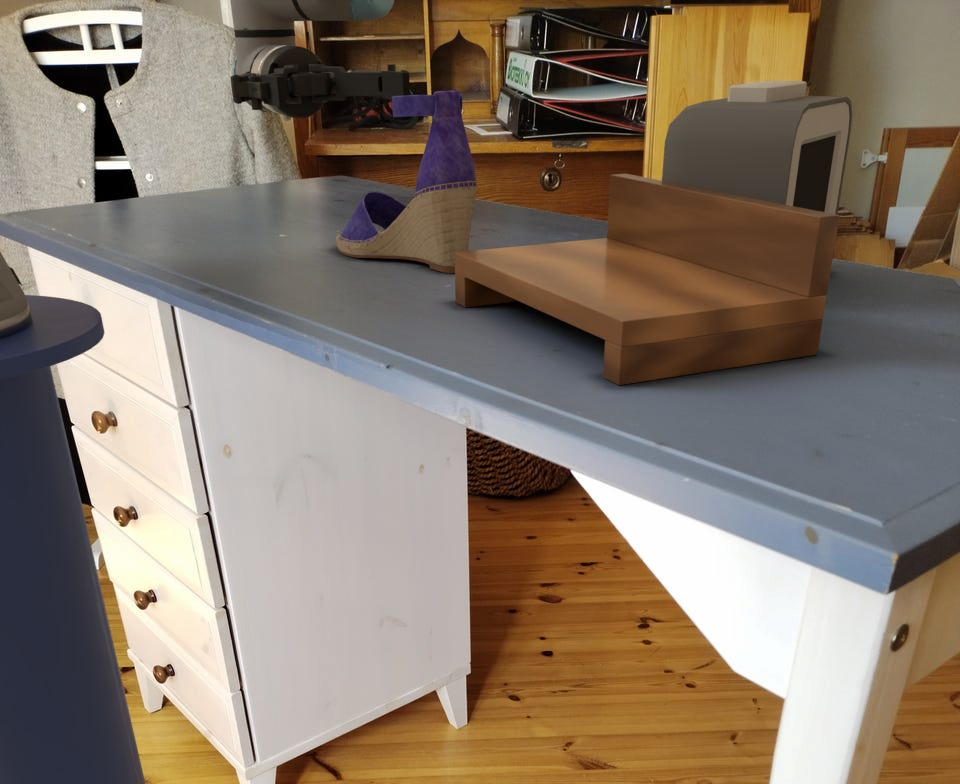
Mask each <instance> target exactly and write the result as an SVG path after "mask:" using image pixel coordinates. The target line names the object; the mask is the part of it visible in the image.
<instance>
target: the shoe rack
mask: <svg viewBox="0 0 960 784" xmlns="http://www.w3.org/2000/svg"><path fill="white" fill-rule="evenodd" d="M608 189H609V191H608V208H607V209H608V210H607V211H608V212H607V229H606V237H602V238H593V239H581V240H569V241H559V242H552V243H551V242H550V243H539V244H529V245H518V246H507V247H506V246H505V247H495V248H486V249H473V250H468V251H463V252H455V273H454V285H455V286H454V293H455V297H454V298H455V303H456V304H458V305H460V306H462V307H464V308H470V307H471V308H472V307H481V306H490V305H496V304H497V305H498V304H505V303H515V302H520V303H522V304H525V305H526V306H528V307H531V308H533V309H535V310H537V311H539V312H542V313H544V314H546V315H549V316H551V317H553V318H555V319H557V320H560V321H562V322H564V323H567V324H569V325H571V326H572V327H575V328H577V329H579V330H582V331H584V332H586V333H589V334H590V335H593V336H596V337H598V338H600V339H602V340H604V353H603V371H602V372H603V373H602V377H603V379H605V380H607V381H609V382H612V383H613V384H615V385H617V386H623V385H628V384H635V383H643V382H649V381H655V380H661V379H667V378H675V377H682V376H687V375H693V374H701V373H707V372H714V371H720V370H724V369H725V370H726V369H733V368H740V367H745V366H752V365H758V364H765V363H771V362H778V361H784V360H791V359H797V358H803V357H810V356H811V357H812V356H816V355H817V356H818V353H819V345H820V341H821V340H820V339H821V335H822V327H823V319H824V315H825V309H826V304H827V303H826V302H827V297H828V292H829V285H830V278H831V272H832V266H833V259H834V254H835V248H836V242H837V235H838V229H839V223H840V217H841V216H840V214H838V215H836V214H831V213H826V212H820V211H815V210H810V209H805V208H800V207H795V206H790V205H784V204H779V203H774V202H769V201H764V200H759V199H754V198H748V197H743V196H738V195H733V194H728V193H723V192H718V191H712V190H707V189H702V188H697V187H692V186H687V185H682V184H676V183H671V182H666V181H662V179H655V178H652V177H651V178H650V177H645V176H640V175H635V174H629V173H616V174H610V175H609V188H608Z"/></svg>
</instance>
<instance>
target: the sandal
mask: <svg viewBox="0 0 960 784" xmlns="http://www.w3.org/2000/svg"><path fill="white" fill-rule="evenodd" d="M463 98H464V93H462V92H458V91H457V90H455V89H451V90H437V91H434V93H433V94H410V95H407V96H394V97H392V100H391V105H392V116H393V117H392V118H403V117H432V120H431V125H430V129H429V132H428V137H427V140H426V143H425V147H424V150H423V154H422V158H421V162H420V165H419V169H418V173H417V176H416V177H417V178H416V181H415V188H414V189H415V190H414V196H413V198H412V200H411V201H410V202H409V203H408V204H407V205H406V204H405V203H404V202H402V201H401V200H399V199H398V198H395V197H394V196H391V195H389V194H387V193H384V192H381V191H379V190H377V191H376V190H375V191H373V190H369V191H367V192H366V193H365V194H364V195H363V196H362V198H361V200H360V202H359V204H358V205H357V207H356V209H355V211H354V213H353V214H352V216H351V218H350V219H349V221H348V222H347V224H346V225H345V227H344V229H343V230H342V232H340V233H338V234H337V235H336V238H335V243H336V246H337V251H338V252H339V253H341V254H342V255H344V256H346V257H352V258H361V259H363V258H364V259H398V260H399V259H400V260H408V261H415V262H419V263H424V264H427V265H428V266H429V269H430V270H433V271H437V272H441V273H444V274H455V252H463V251H469V245H470V237H471V231H472V226H473V225H472V224H473V219H474V218H473V217H474V211H475V205H476V198H477V192H478V183H477V176H476V167H475V163H474V158H473V155H472V151H471V146H470V143H469V140H468V135H467V132H466V128H465V123H464V120H463V102H464V101H463V100H464V99H463ZM374 224H375V225H377V226H379V227H381V228H382V229H383V231H378V230H377V227H376V226H375V225H374Z"/></svg>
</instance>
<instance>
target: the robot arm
mask: <svg viewBox="0 0 960 784" xmlns="http://www.w3.org/2000/svg"><path fill="white" fill-rule="evenodd" d="M229 2H230V9H231V10H230V11H231V18H232V24H233V31H234V47H235V55H236V57H235V59H234V61H233V64H232V70H231V76H229V79H230V87H231V95H232V96H231V97H232V102H233V103H235V104H237V105H239V104H240V105H241V104H243V103H246V104H247V105H249V106H250V107H251V110H252V111H260V112H263V113H272V114H277V115H281V116H282V119H283V120H284V121H286V122H289V121H291V119H292V118H293V119H299V120H300V119H308V118H310V117H312V116H314V115H315V114H317V113H318V112H319V111H320V110H321V109H322V107H323V106H324V104H326V103H327V102H328V101H329V102H341V101H346V100H347V98H348V97H370V98H371V97H372V98H373V97H378V98H379V97H381V98H382V99H383V100H390V101H392V97H394V96H407V95H411V84H410V83H411V81H410V72H409V70H406V69H401V70H400V71H399V70H397V66H396V64H395V63H393V64H391V63H390V64H387V70H362V69H361V70H360V69H359V70H358V69H355V68H350V69H348V70H346V69H345V68H344V66H327V65H325V64H324V63H323V62H322V60H321V59H320V58H319V57H318V56H317V54H315V53H314V52H313V51H311V50H310V49H308V48H306V47H304V46H298V45H297V43H296V30H295V22H322V21H323V22H325V21H326V22H338V21H339V22H345V21H346V22H347V21H348V22H350V21H351V22H352V21H354V22H357V23H361V22H362V21H368V20H379V19H382V18H384V17H386V16H387V15H388V14H389V12H391V10H392V9H393V6H394V4H395V0H229ZM21 286H23V283H22V282H21V281H20V279H19V277H18V275H17V274H16V271H15V270H14V268H13V267H10V266H9V264H8V262H7V261H6V259H5V257H4V255H3V254H2V252H1V251H0V339H1V338H5V337H8V336H10V335H13V334H16V333H18V332H20V331H22V330H24V329H25V328H27V327H28V326H29V325H30V324H31V323H32V317H31V312H30V308H29V304H28V302H27V299H26V296H25V295H26V294H25V292H24V290H23V288H22V287H21Z"/></svg>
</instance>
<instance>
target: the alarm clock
mask: <svg viewBox="0 0 960 784" xmlns="http://www.w3.org/2000/svg"><path fill="white" fill-rule="evenodd" d="M807 85H808V83H807V82H806V80H805V81H804V80H766V81H765V80H764V81H758V82H750V83H749V82H748V83H742V84H732V85H730V86H729V87H728V93H727V97H725V98H719V99H712V100H711V99H710V100H705V101H704V100H703V101H701V102H698V103H694V104H690V105H687V106H685V107H684V108H683V110H682V111H681V112H680V113H678V114H677V116H676V117H675V118H674V119H673V120H672V121H671V122H670V123H669V124H668V128H667V132H666V135H665V139H664V146H663V147H664V148H663V160H662V173H661V181H666V182H671V183H676V184H682V185H687V186H692V187H697V188H702V189H707V190H712V191H718V192H723V193H728V194H733V195H738V196H743V197H748V198H754V199H759V200H764V201H769V202H774V203H779V204H784V205H790V206H795V207H800V208H805V209H810V210H815V211H820V212H826V213H831V214H836V215H839V208H840V201H841V196H842V188H843V182H844V177H845V169H846V164H847V157H848V152H849V151H848V150H849V146H850V145H849V144H850V139H851V133H852V121H853V107H852V100H851V99H850V97H848V96H836V95H835V96H831V95H806V92H807Z"/></svg>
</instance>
